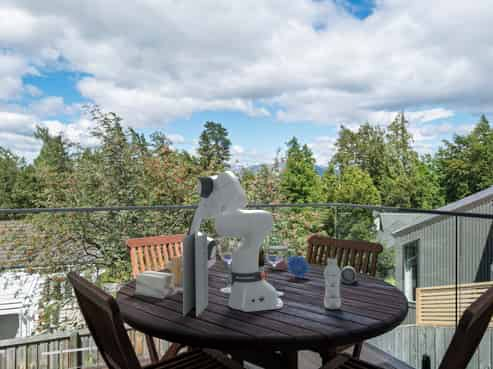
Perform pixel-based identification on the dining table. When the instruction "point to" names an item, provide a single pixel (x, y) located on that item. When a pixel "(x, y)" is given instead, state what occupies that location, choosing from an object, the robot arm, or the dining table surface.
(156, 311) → the dining table surface
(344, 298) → the dining table surface
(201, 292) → the brochure
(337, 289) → the plastic bottle
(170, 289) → the block
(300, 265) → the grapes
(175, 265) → the tan rectangular block
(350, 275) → the ceramic mug
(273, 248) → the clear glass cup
